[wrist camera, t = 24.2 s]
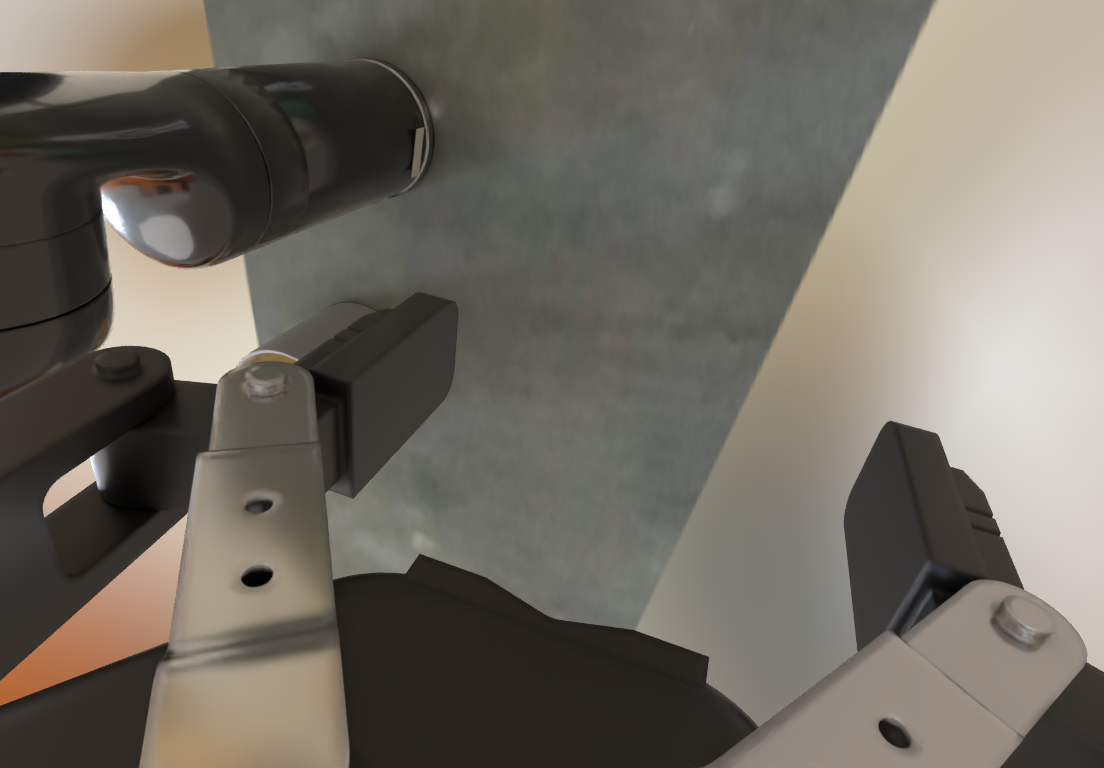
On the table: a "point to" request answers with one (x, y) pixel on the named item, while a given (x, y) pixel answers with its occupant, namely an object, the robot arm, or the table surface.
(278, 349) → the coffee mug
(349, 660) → the robot arm
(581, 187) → the table surface
